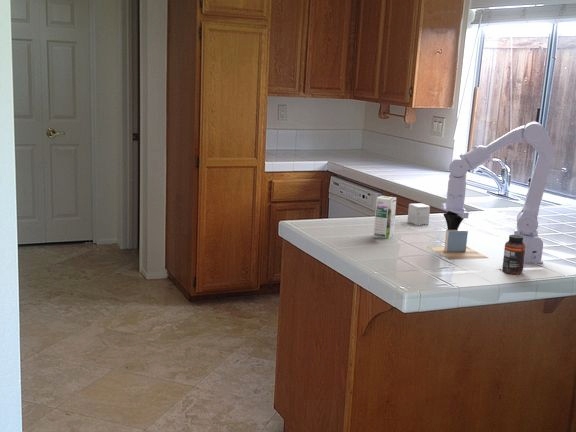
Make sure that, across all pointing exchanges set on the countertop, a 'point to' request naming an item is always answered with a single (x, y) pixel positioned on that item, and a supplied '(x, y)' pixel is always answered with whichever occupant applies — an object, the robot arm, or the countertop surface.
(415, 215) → the white stone block
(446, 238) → the tile
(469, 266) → the countertop surface
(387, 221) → the syrup box
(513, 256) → the supplement bottle
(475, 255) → the cork mat
